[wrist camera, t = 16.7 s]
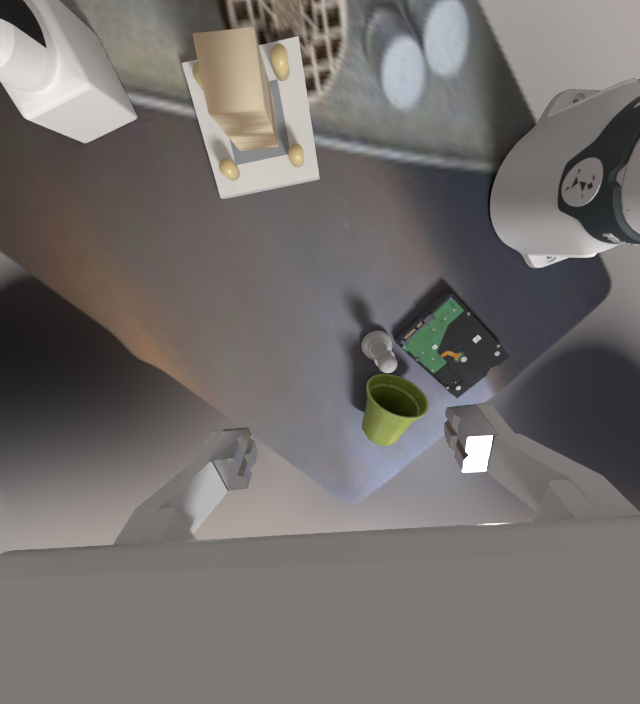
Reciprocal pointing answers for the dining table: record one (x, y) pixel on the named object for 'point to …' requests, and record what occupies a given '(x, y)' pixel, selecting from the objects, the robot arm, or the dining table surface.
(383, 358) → the chess piece
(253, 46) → the maple block
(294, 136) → the white pegged board
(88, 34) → the medicine bottle
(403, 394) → the plant pot
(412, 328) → the disk drive
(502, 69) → the dining table surface
